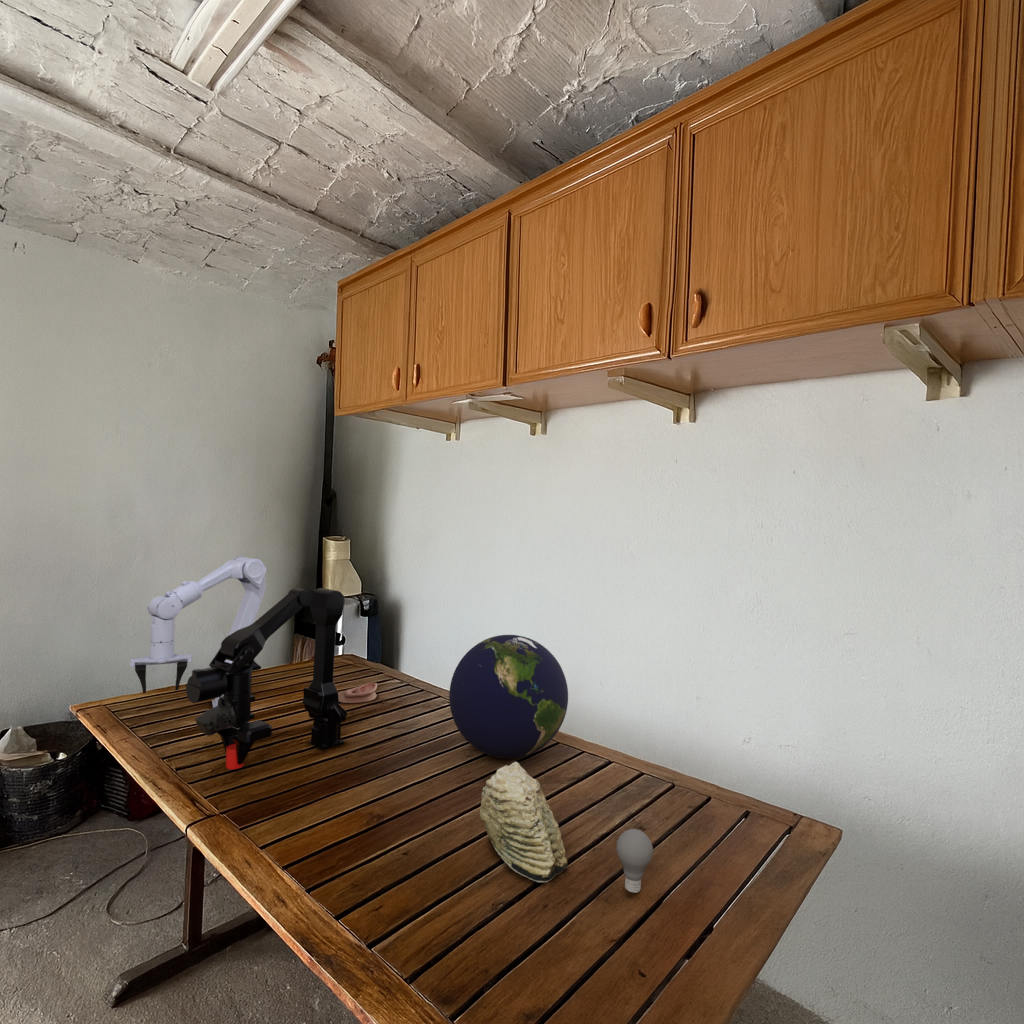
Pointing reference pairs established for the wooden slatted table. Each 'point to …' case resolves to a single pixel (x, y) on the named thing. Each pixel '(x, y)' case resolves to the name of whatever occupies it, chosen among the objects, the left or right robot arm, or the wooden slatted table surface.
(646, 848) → the light bulb
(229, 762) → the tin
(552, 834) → the fossil
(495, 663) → the globe
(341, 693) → the anatomical model
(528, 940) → the wooden slatted table surface
